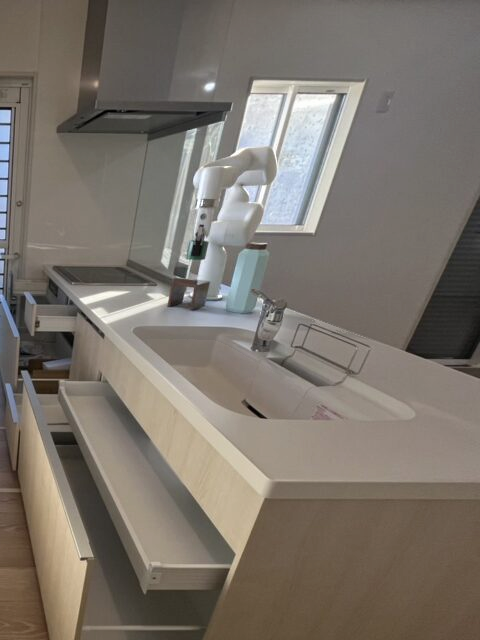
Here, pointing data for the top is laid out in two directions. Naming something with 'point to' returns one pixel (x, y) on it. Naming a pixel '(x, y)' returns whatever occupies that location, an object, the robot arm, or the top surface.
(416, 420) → the top surface
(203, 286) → the shelf
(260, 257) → the water bottle
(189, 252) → the pot
